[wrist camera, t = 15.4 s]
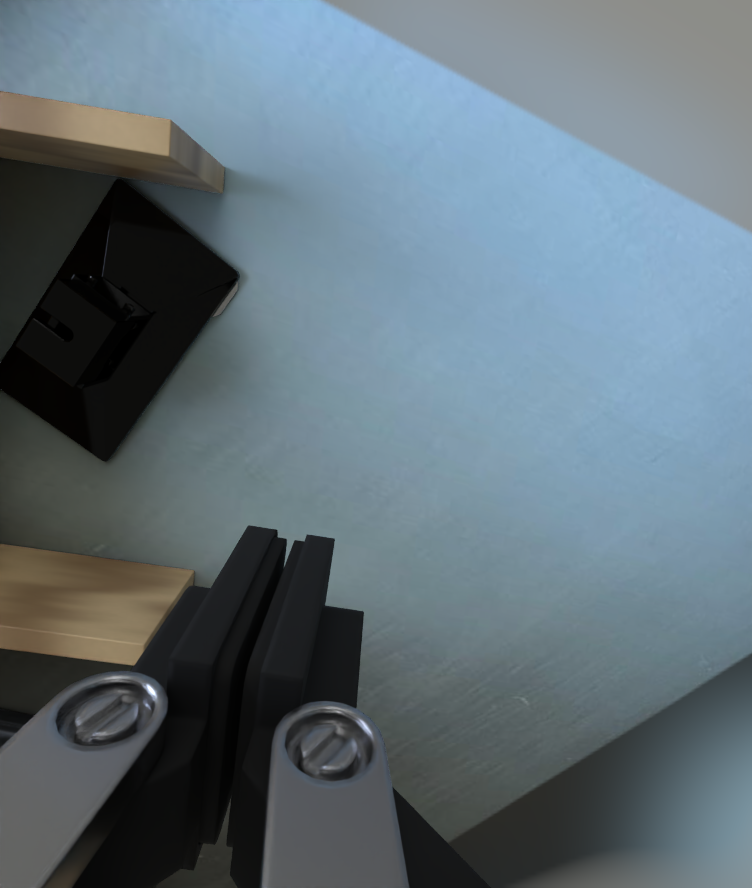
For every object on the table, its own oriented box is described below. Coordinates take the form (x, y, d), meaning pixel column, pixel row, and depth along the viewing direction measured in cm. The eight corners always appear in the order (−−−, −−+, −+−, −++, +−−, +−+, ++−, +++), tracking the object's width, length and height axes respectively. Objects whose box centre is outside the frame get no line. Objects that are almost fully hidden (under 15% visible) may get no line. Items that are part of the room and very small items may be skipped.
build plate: (122, 178, 26) (70, 151, 22) (247, 278, 27) (222, 272, 23) (-8, 380, 28) (-79, 394, 24) (113, 464, 30) (66, 493, 25)
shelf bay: (225, 166, 26) (171, 119, 19) (193, 588, 31) (143, 667, 25) (-38, 123, 25) (-188, 58, 19) (-22, 559, 31) (-134, 631, 24)
